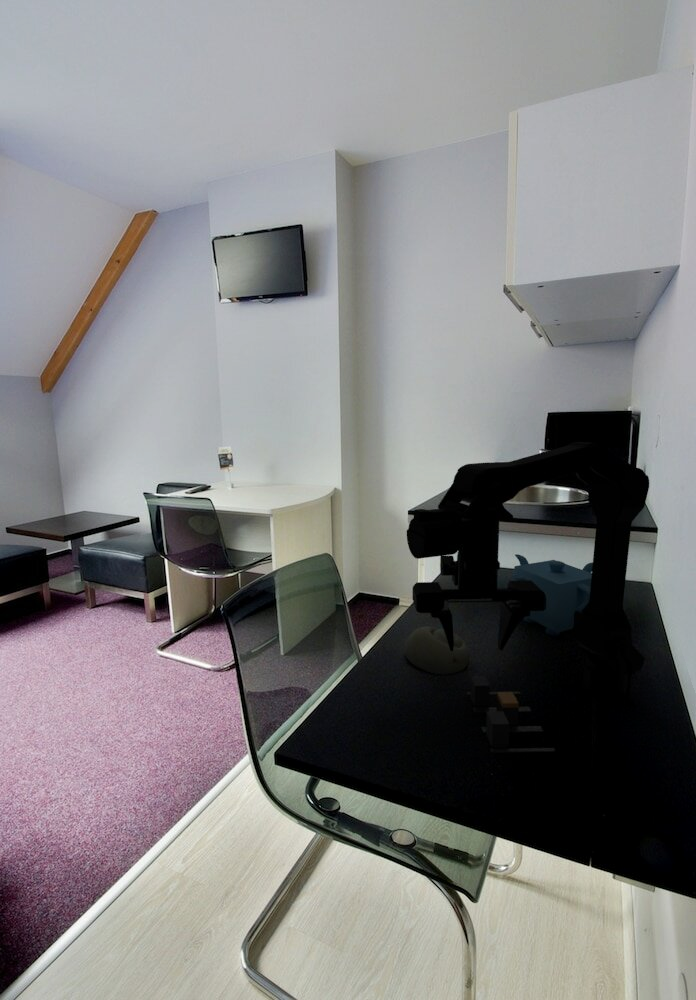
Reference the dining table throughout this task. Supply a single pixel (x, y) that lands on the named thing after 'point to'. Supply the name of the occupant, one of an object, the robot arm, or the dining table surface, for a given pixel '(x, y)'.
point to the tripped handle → (508, 706)
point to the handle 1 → (479, 691)
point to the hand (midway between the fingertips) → (475, 649)
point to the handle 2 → (497, 729)
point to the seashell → (436, 651)
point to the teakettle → (556, 591)
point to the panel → (514, 729)
